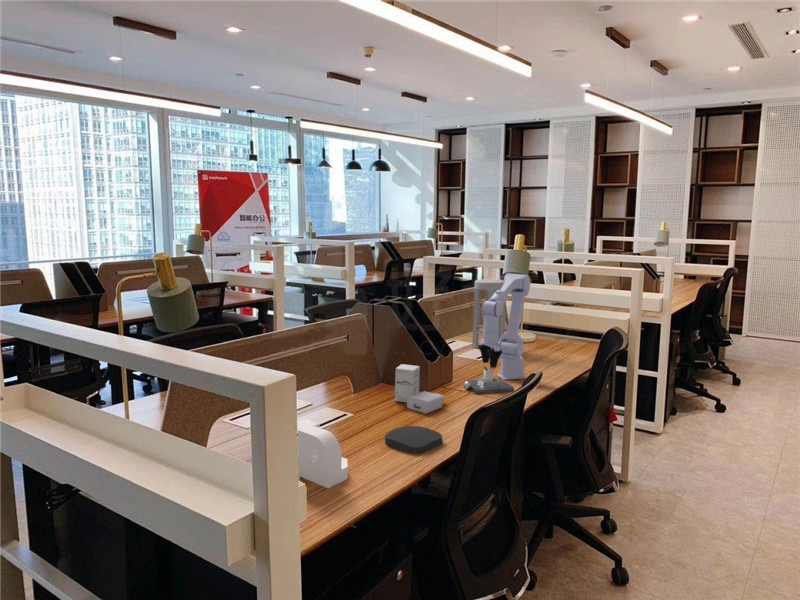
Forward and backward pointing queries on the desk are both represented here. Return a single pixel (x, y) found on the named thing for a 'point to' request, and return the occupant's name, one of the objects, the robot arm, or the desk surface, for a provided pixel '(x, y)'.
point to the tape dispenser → (320, 455)
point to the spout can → (488, 374)
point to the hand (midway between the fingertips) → (489, 364)
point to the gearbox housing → (488, 386)
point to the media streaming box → (413, 439)
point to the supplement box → (406, 382)
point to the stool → (490, 288)
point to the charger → (425, 402)
